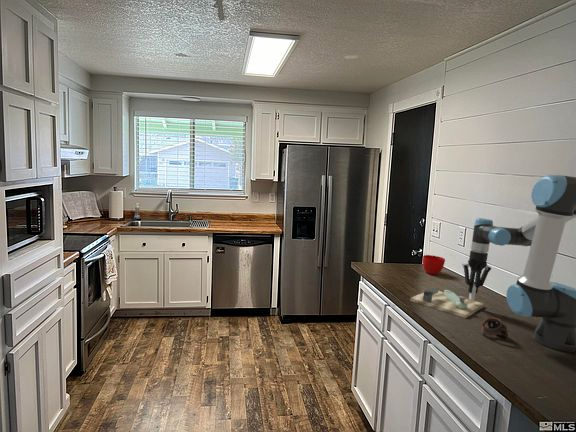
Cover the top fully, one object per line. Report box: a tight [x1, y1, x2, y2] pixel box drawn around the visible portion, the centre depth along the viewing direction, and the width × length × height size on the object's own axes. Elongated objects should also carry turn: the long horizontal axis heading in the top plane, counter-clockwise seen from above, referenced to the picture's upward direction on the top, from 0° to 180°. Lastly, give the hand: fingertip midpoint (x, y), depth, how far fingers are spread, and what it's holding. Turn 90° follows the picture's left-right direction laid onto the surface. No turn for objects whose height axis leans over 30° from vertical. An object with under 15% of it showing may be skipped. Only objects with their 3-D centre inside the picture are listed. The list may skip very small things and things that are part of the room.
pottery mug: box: [480, 316, 509, 340], centre depth 162 cm, size 12×10×8 cm
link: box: [443, 289, 468, 309], centre depth 195 cm, size 22×5×2 cm, turn 178°
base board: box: [409, 290, 485, 319], centre depth 196 cm, size 26×25×7 cm
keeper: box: [423, 287, 440, 302], centre depth 195 cm, size 3×10×4 cm, turn 138°
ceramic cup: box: [422, 254, 446, 276], centre depth 255 cm, size 13×17×10 cm
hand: (471, 299), depth 195 cm, fingers closed
